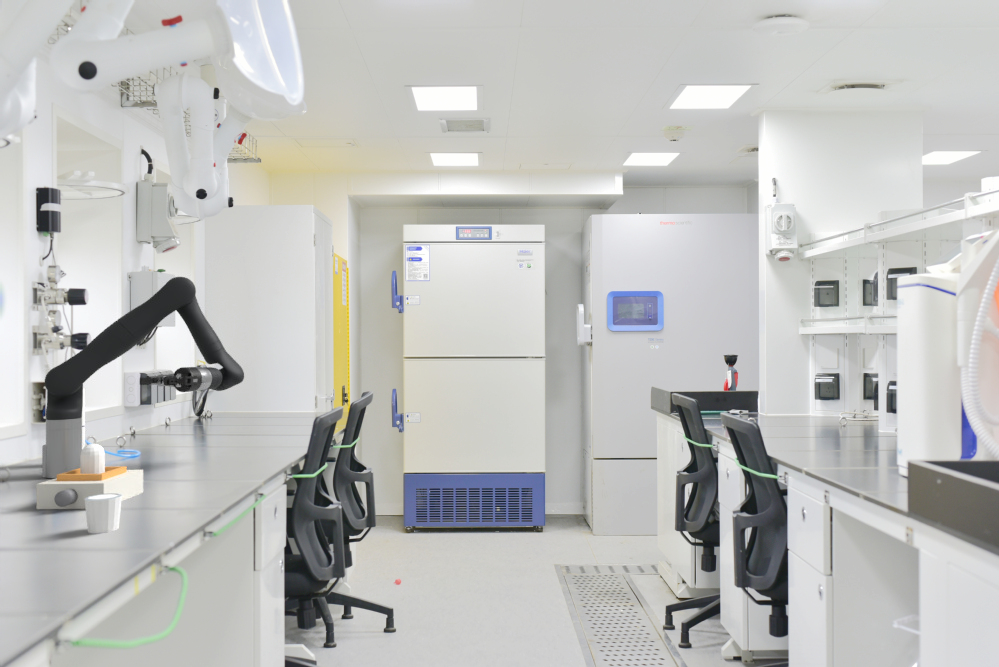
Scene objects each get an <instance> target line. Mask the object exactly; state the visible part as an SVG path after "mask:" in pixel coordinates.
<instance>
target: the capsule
mask: <svg viewBox="0 0 999 667" xmlns="http://www.w3.org/2000/svg"><path fill="white" fill-rule="evenodd" d="M105 452H106V451H105V448H104V447H103V446H102V445H100V444H98V443H89V444H87V445H85V447H84V448H83V450H82V451H81V455H80V474H101V473H104V472H105V467H106V453H105Z"/></svg>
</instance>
